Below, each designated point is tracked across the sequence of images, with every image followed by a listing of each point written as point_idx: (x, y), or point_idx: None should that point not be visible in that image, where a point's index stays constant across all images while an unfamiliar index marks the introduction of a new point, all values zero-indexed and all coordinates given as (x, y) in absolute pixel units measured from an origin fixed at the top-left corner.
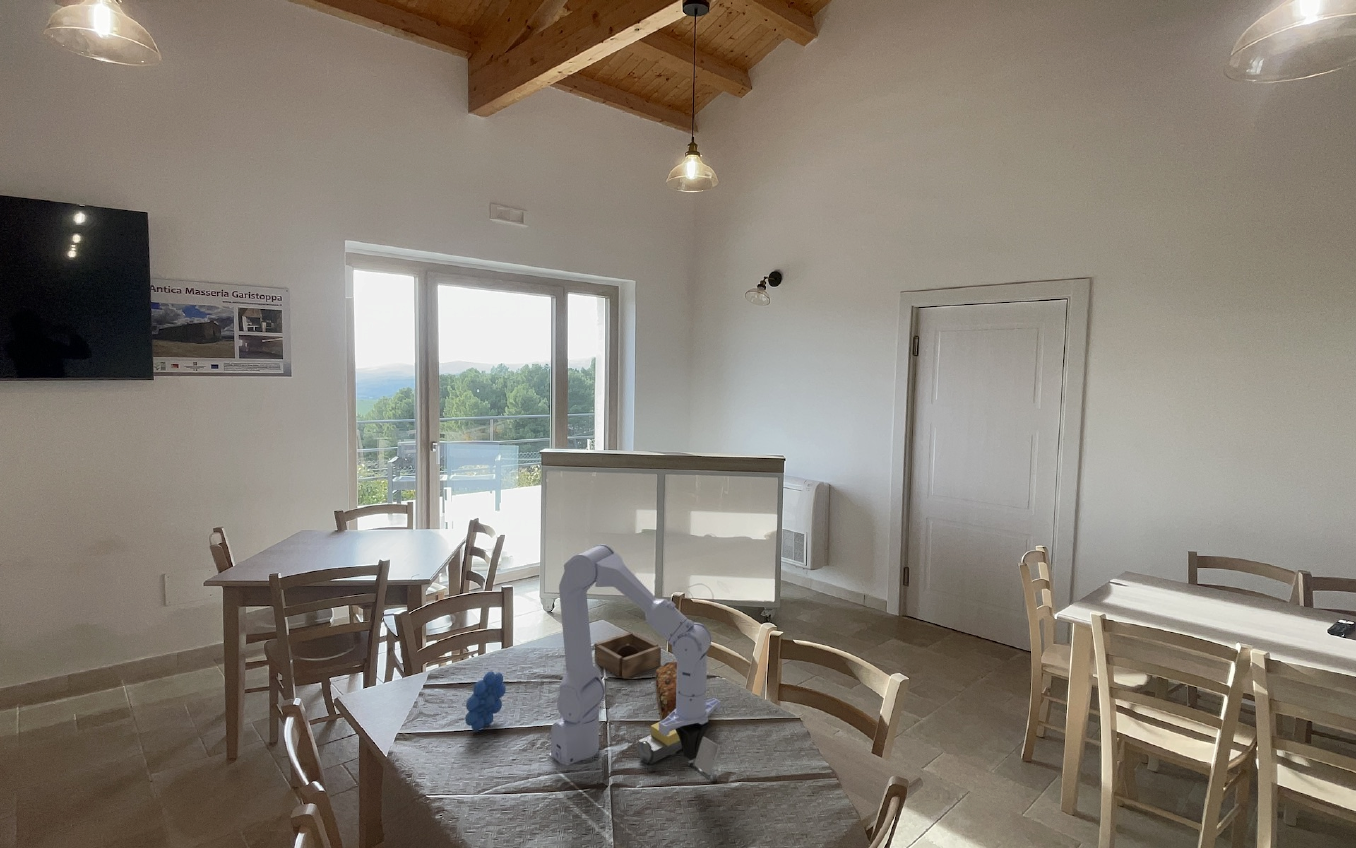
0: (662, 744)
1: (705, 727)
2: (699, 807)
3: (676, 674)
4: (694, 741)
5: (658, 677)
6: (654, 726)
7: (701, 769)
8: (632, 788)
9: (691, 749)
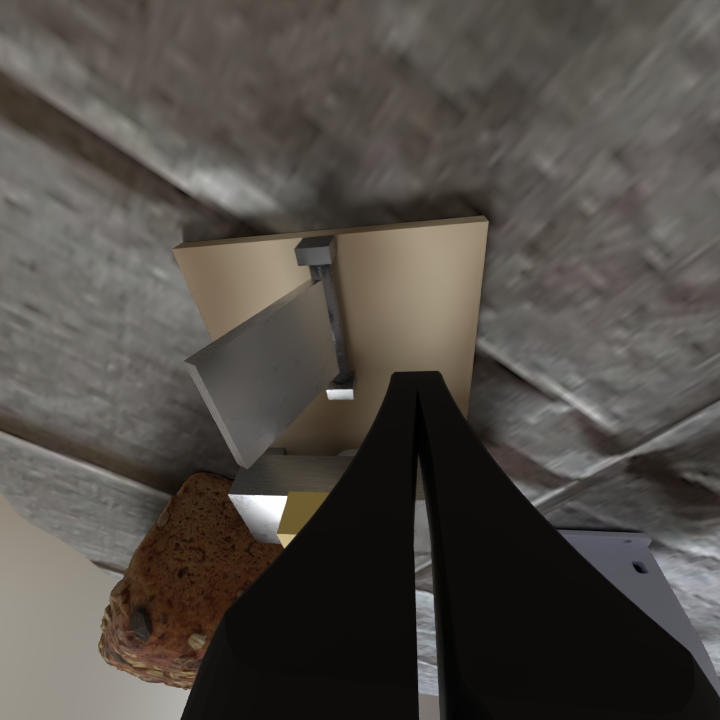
0: (415, 509)
1: (296, 672)
2: (503, 131)
3: (176, 683)
4: (460, 491)
5: None
6: None
7: (330, 333)
8: (590, 409)
9: (470, 431)
